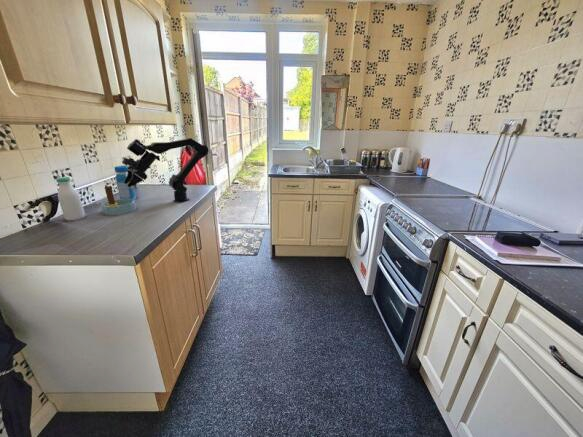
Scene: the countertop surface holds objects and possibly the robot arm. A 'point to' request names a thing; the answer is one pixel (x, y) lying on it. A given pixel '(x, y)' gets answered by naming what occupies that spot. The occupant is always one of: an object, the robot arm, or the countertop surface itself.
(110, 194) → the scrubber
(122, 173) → the beverage bottle
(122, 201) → the bowl
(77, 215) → the milk bottle
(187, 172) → the robot arm
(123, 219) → the countertop surface
